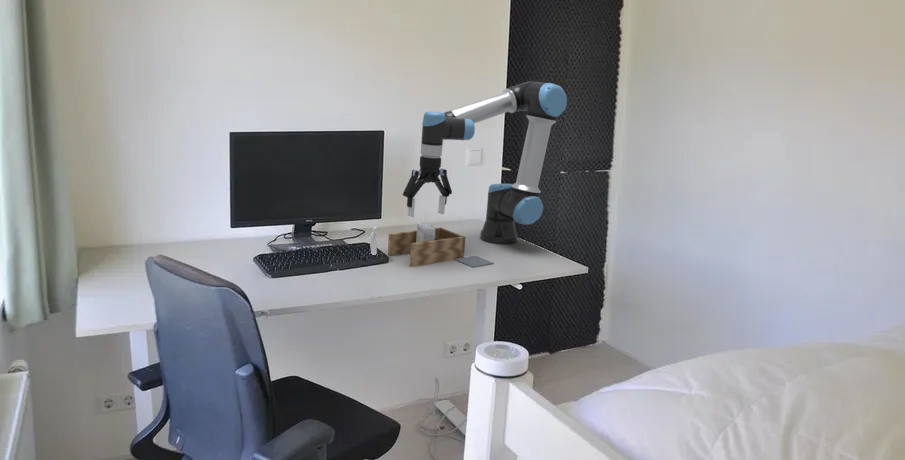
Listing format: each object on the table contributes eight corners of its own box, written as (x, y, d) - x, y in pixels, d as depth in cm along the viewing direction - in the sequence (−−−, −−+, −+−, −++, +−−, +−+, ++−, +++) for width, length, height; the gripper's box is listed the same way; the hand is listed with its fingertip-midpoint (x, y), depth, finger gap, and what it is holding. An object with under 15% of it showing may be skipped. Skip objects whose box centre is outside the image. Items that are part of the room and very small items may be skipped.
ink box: (433, 260, 256) (436, 228, 253) (420, 260, 255) (422, 228, 252) (427, 253, 264) (429, 222, 261) (414, 253, 262) (416, 222, 259)
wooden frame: (439, 247, 273) (440, 227, 271) (463, 258, 261) (465, 237, 259) (387, 255, 258) (388, 233, 256) (411, 266, 247) (412, 244, 245)
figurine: (371, 252, 259) (372, 221, 256) (389, 258, 254) (391, 226, 251) (354, 257, 252) (355, 224, 249) (373, 263, 247) (374, 230, 244)
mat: (475, 256, 264) (475, 255, 264) (493, 264, 257) (493, 262, 257) (454, 260, 258) (455, 258, 258) (472, 267, 251) (472, 266, 251)
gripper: (451, 153, 260) (446, 210, 266) (395, 155, 245) (391, 214, 250) (464, 157, 255) (459, 214, 260) (408, 158, 239) (403, 219, 245)
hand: (426, 214), depth 255 cm, fingers open, 13 cm apart
